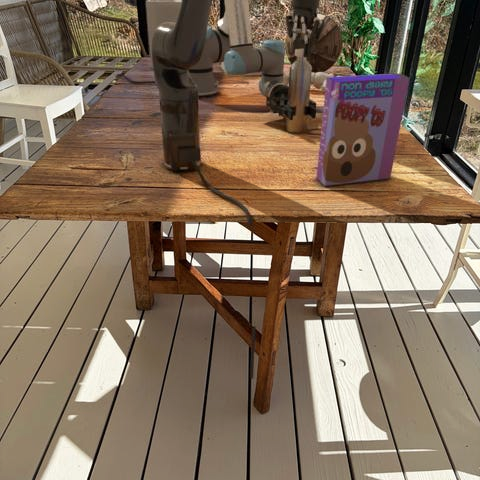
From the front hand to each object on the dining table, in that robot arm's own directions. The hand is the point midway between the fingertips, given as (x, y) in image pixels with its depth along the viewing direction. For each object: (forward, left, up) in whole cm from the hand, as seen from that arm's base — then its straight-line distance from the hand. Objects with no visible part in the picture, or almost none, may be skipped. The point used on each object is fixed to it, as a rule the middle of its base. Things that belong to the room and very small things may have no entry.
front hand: (301, 55), depth 137 cm
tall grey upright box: (+100, +30, -22) cm, 107 cm away
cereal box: (-39, -3, -22) cm, 45 cm away
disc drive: (+83, -3, -22) cm, 86 cm away
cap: (0, 0, +1) cm, 1 cm away
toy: (+45, -24, -22) cm, 55 cm away
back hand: (-5, 0, -16) cm, 17 cm away
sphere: (+75, -30, -22) cm, 84 cm away
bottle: (0, 0, -22) cm, 22 cm away
